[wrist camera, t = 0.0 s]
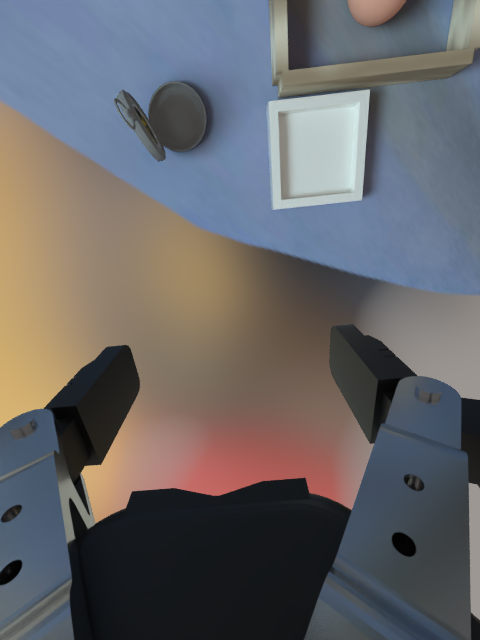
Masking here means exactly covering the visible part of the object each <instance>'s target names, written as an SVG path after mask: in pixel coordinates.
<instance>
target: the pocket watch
mask: <svg viewBox="0 0 480 640" xmlns="http://www.w3.org/2000/svg"><path fill="white" fill-rule="evenodd" d="M117 102H118V103H119V104H120V106H121V109H122V111H123V113H124V115H125V117H126V118H127V120H128V121H127V120H126V119H125V118H124V116H123V115H122V113H121V111H120V109H119V107H118V105H117ZM114 103H115V106H116V108H117V111H118V113H119V114H120V116H121V117H122V119H123V120H124V122H125V123H126V124H127V125H128V126H129V127H130V128H131V129H133V130H134V131H135V133H136V135H137V136H138V138H139V139H140V140H141V142H142V143H143V145H144V146H145V147H146V149H147V150H148V151H149V153H150V154H151V155H152V156H153V157H154V158H155V159H156V160H157V161H163V160H164V159H166V156H165V150H164V147H163V145H164V146H165V147H166V148H168V149H170V150H173V151H177V152H185V151H188V150H191V149H193V148H194V147H196V146H197V145H198V144H199V142H200V141H201V140H202V138H203V136H204V133H205V130H206V121H207V119H206V110H205V107H204V104H203V102H202V100H201V98H200V97H199V95H198V94H197V92H196V91H195V90H194V89H193V88H191V87H190V86H189V85H187V84H184V83H182V82H177V81H172V82H168V83H165V84H163V85H162V86H160V87H159V88H158V89H157V90H156V91H155V92H154V94H153V96H152V98H151V101H150V104H149V112H148V115H149V120H148V118H147V117H146V115H145V113H144V112H143V110H142V109H141V108H140V106H139V105H138V103H137V102H136V101H135V99H134V98H133V97H132V96H131V95H130V94H129V93H127V92H125V91H124V90H121V91H120V92H119V95H118V96H117V98H115V99H114ZM128 122H129V123H130V124H129V123H128Z"/></svg>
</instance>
